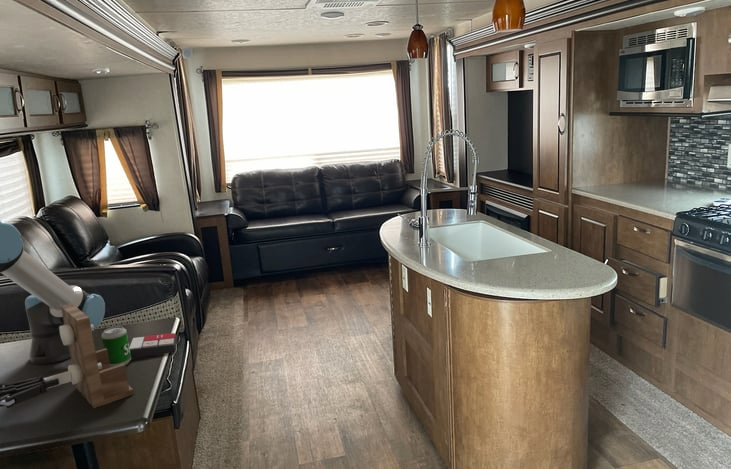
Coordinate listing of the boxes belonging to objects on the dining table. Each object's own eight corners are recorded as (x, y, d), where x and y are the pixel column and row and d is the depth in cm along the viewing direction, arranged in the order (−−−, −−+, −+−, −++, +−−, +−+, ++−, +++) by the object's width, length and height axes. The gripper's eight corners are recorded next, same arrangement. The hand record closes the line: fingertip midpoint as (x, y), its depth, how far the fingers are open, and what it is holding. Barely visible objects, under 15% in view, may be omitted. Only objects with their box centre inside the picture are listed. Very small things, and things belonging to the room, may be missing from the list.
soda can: (122, 369, 183) (116, 334, 181) (102, 368, 185) (95, 334, 182) (136, 359, 190) (130, 325, 188) (116, 358, 192) (110, 325, 189)
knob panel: (76, 387, 172) (60, 306, 167) (114, 375, 179) (100, 296, 174) (93, 408, 159) (77, 320, 153) (133, 394, 166) (119, 309, 160)
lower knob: (70, 381, 165) (66, 363, 164) (99, 371, 170) (96, 354, 169) (75, 387, 161) (71, 368, 160) (105, 377, 166) (102, 359, 165)
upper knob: (61, 342, 162) (58, 324, 161) (92, 334, 168) (88, 316, 166) (66, 347, 158) (63, 328, 157) (97, 338, 163) (94, 320, 162)
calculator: (174, 342, 193) (127, 348, 190) (175, 354, 194) (128, 360, 191) (176, 331, 204) (131, 336, 200) (177, 343, 205) (132, 348, 201)
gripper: (-29, 410, 153) (67, 381, 168) (-23, 428, 143) (78, 395, 158) (-35, 384, 152) (62, 357, 166) (-29, 400, 142) (73, 370, 156)
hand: (70, 376), depth 162 cm, fingers closed
